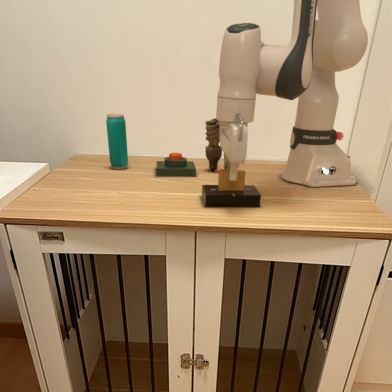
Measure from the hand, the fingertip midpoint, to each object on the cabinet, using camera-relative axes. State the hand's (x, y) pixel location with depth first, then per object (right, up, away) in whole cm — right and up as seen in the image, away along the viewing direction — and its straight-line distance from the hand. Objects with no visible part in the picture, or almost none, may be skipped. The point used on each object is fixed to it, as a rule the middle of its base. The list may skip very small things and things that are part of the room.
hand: (229, 174), depth 103 cm
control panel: (0, -5, +4) cm, 7 cm away
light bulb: (-3, +14, +30) cm, 33 cm away
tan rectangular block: (0, -3, +2) cm, 4 cm away
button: (-15, +15, +25) cm, 33 cm away
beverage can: (-33, +15, +29) cm, 47 cm away
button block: (-15, +12, +27) cm, 33 cm away
